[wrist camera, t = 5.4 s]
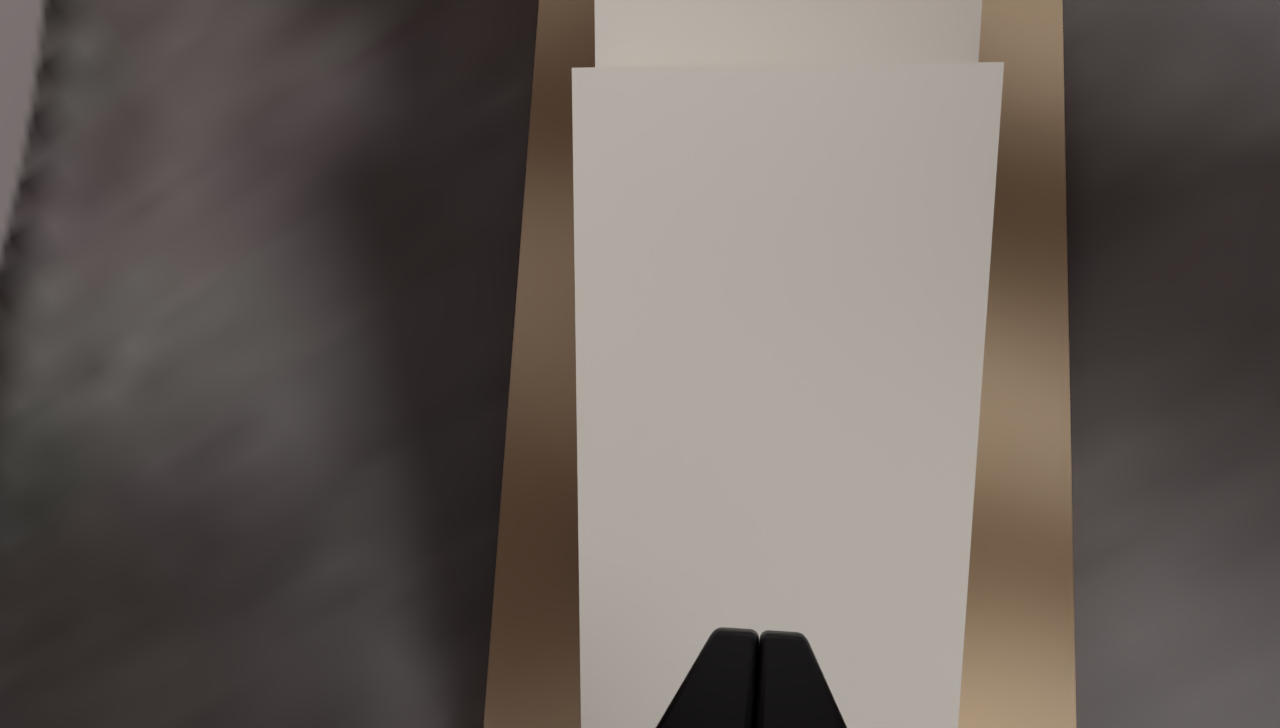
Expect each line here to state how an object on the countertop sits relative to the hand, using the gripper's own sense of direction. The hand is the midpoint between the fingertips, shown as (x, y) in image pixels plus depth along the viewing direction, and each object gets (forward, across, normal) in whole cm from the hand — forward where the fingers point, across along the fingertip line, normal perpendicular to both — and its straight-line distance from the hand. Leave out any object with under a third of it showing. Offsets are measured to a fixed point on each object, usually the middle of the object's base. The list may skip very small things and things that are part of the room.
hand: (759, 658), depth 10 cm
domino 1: (+2, 0, +6) cm, 6 cm away
